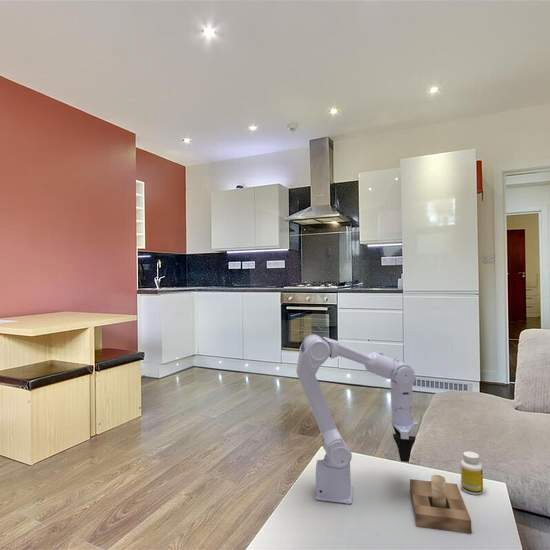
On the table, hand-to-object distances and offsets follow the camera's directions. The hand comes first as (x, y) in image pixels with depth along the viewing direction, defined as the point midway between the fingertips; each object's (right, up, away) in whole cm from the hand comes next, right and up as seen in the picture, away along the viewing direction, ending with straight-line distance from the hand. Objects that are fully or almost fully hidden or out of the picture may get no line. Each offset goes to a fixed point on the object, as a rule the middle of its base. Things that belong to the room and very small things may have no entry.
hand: (403, 454), depth 106 cm
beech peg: (+5, -10, -11) cm, 16 cm away
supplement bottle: (+19, -10, -1) cm, 21 cm away
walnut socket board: (+6, -10, -9) cm, 15 cm away
